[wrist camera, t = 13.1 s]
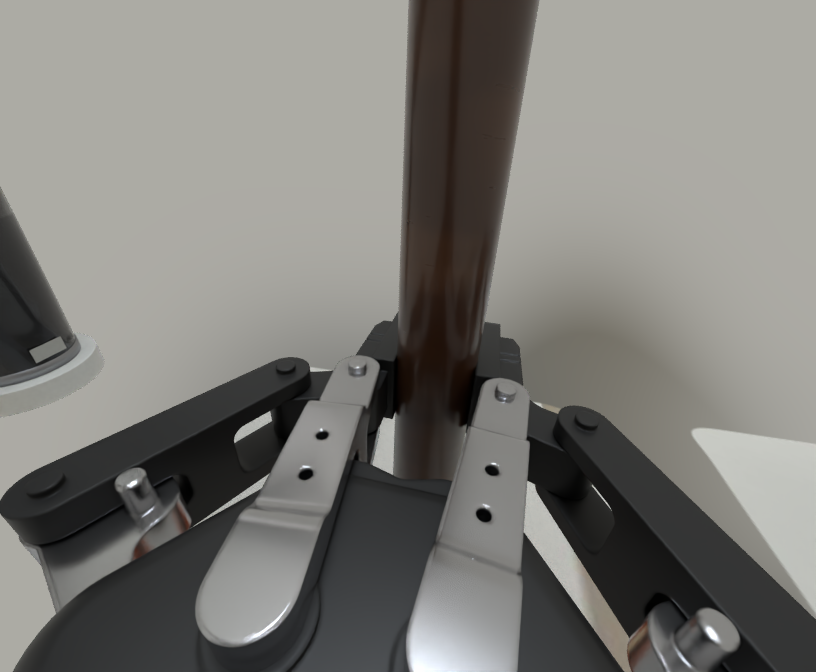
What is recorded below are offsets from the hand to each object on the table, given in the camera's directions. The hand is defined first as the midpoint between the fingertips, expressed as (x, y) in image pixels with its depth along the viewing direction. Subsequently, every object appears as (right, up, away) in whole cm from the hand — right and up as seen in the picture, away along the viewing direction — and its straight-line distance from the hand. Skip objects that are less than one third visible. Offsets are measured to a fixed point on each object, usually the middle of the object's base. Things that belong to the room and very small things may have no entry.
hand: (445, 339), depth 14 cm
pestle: (-1, -14, +5) cm, 15 cm away
